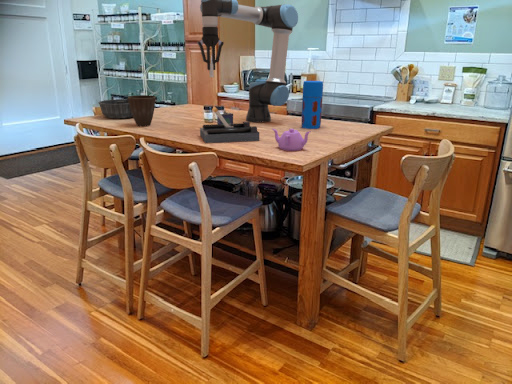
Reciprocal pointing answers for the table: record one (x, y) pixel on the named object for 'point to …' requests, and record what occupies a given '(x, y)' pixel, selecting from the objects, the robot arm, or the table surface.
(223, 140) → the tray
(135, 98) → the plant pot
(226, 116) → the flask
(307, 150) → the table surface
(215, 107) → the lever
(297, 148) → the teapot
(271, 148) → the table surface
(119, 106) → the bundt pan
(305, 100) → the thermos
